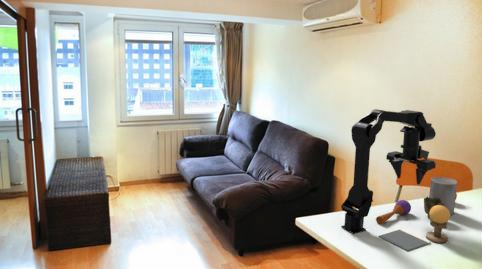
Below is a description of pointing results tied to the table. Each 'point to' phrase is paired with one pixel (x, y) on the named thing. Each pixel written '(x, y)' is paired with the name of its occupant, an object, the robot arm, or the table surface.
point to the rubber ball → (439, 214)
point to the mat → (404, 239)
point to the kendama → (395, 211)
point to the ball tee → (437, 233)
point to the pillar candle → (444, 191)
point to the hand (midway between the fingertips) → (408, 181)
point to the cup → (431, 204)
